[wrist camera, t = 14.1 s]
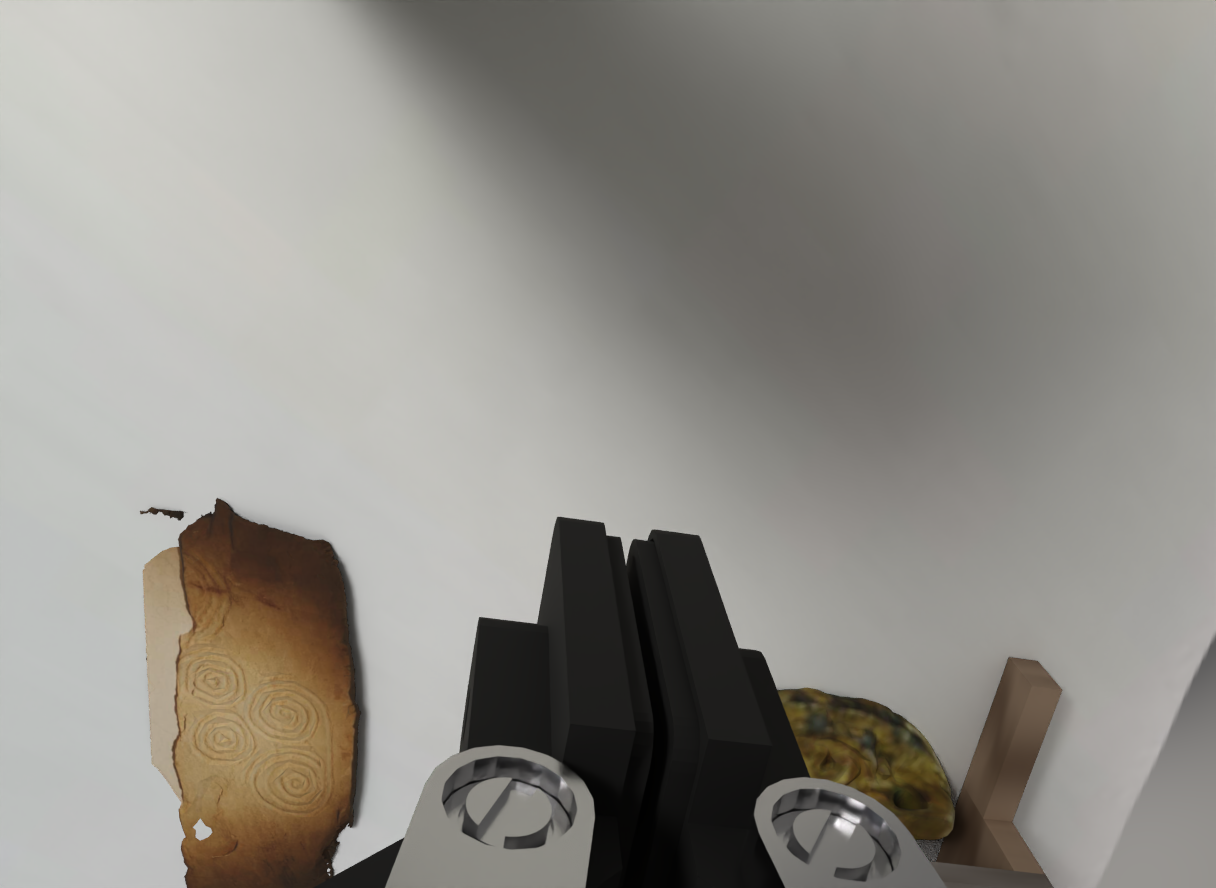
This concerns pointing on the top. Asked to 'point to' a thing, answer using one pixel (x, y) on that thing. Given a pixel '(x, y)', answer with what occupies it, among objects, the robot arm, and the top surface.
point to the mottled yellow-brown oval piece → (872, 757)
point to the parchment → (252, 699)
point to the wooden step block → (1000, 787)
